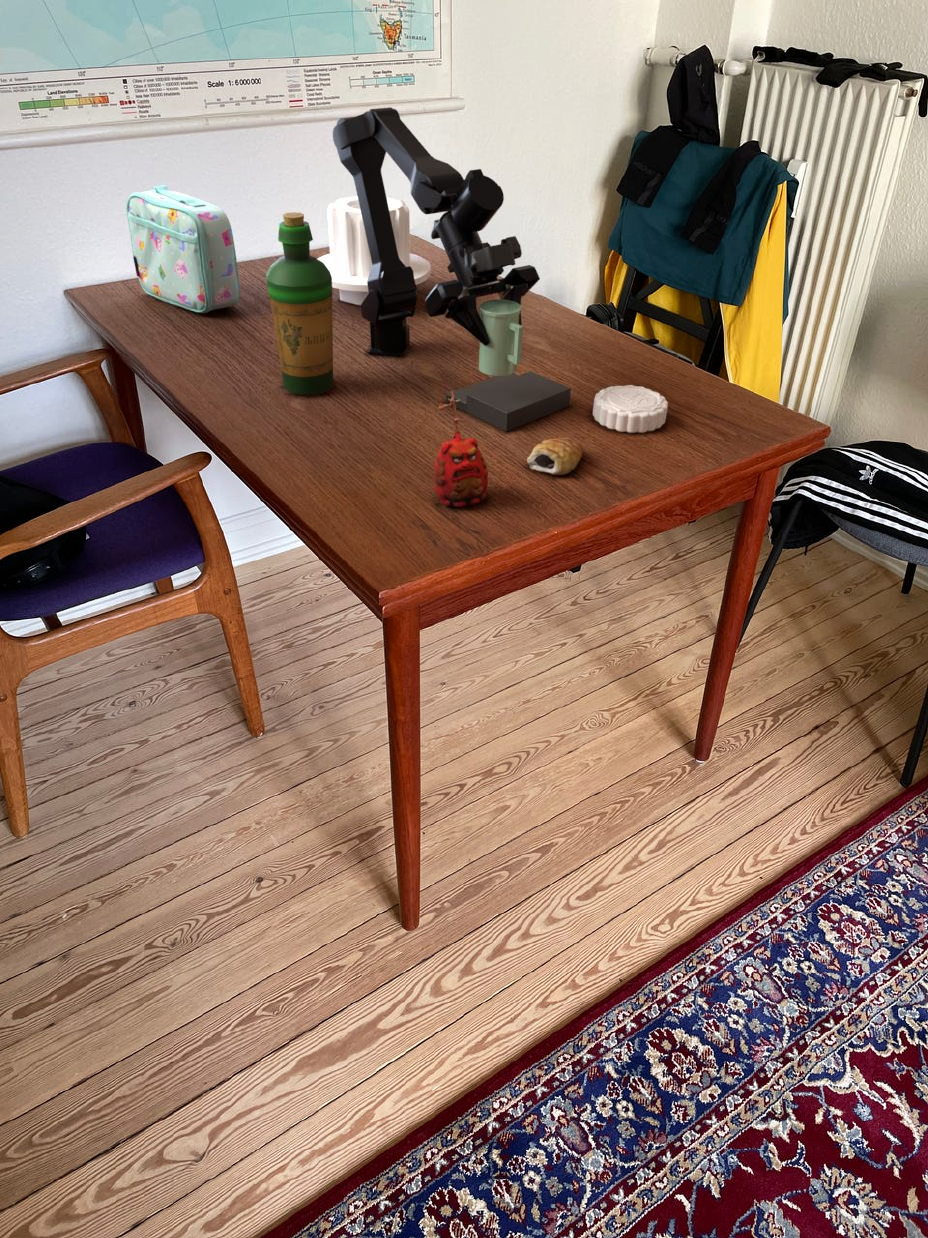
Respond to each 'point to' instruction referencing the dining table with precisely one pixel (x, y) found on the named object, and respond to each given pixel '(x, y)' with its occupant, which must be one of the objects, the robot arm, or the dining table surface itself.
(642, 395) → the mooncake
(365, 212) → the robot arm
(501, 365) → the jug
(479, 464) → the red clay folk toy
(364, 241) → the ribbed cylinder on disc
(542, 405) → the step shelf
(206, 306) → the lunch box
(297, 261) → the bottle
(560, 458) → the pastry
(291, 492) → the dining table surface
